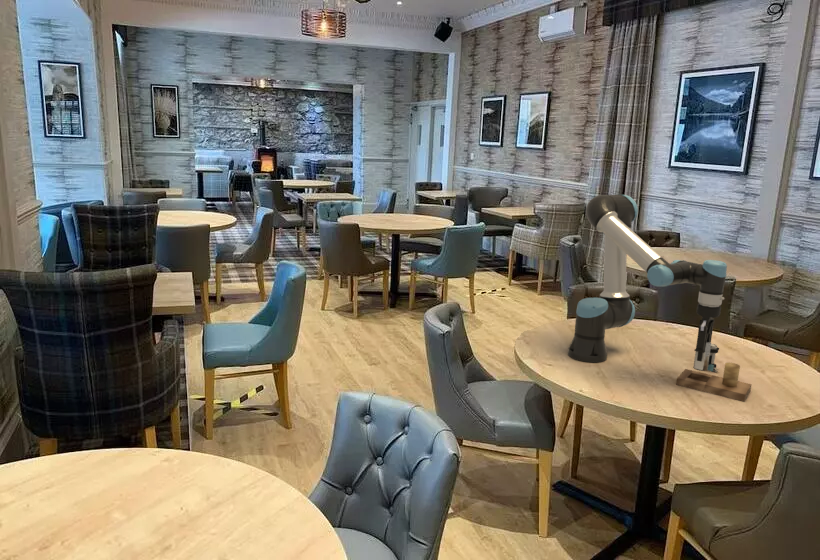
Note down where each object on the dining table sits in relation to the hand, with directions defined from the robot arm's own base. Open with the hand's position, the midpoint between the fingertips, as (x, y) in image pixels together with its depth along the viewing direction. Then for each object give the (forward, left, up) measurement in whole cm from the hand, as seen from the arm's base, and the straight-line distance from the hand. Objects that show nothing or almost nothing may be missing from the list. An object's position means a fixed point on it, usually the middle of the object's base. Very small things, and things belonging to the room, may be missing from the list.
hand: (700, 366), depth 216 cm
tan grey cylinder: (0, 0, -1) cm, 1 cm away
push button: (0, +19, -7) cm, 20 cm away
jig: (+5, 0, -7) cm, 8 cm away
